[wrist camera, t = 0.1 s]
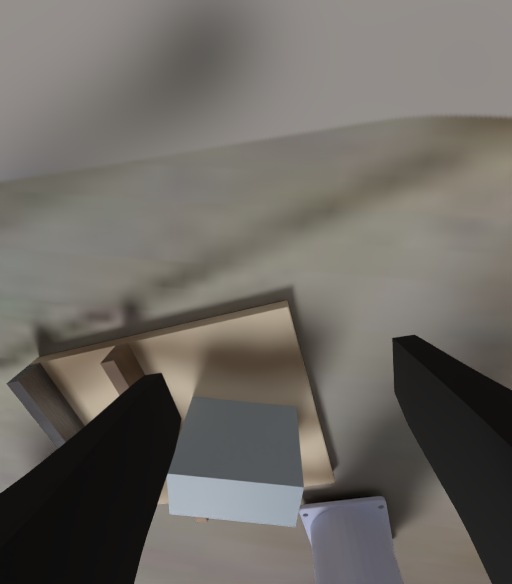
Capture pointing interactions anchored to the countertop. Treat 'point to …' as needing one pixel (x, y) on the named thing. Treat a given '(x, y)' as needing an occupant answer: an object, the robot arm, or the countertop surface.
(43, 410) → the price rail
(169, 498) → the carton
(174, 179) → the countertop surface
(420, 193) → the countertop surface
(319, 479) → the shelf
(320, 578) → the robot arm
